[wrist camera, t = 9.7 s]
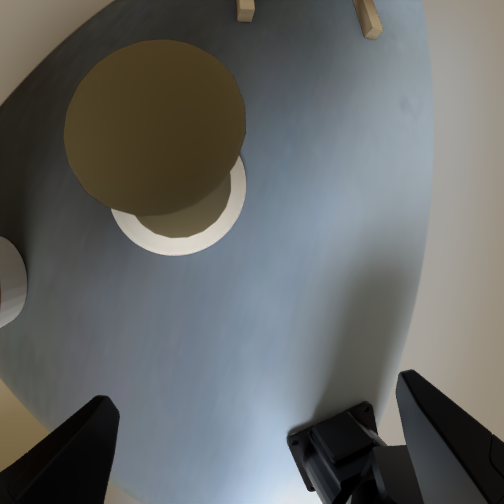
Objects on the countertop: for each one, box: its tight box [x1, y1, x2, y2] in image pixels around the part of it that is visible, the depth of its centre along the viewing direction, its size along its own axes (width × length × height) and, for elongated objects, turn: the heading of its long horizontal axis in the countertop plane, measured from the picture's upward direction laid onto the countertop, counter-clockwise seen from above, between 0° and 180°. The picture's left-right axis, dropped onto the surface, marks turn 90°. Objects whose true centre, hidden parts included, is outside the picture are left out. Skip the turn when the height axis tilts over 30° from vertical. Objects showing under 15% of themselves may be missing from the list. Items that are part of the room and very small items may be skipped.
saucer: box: [111, 156, 246, 256], centre depth 17 cm, size 8×8×1 cm
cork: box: [63, 39, 246, 238], centre depth 12 cm, size 6×6×11 cm
